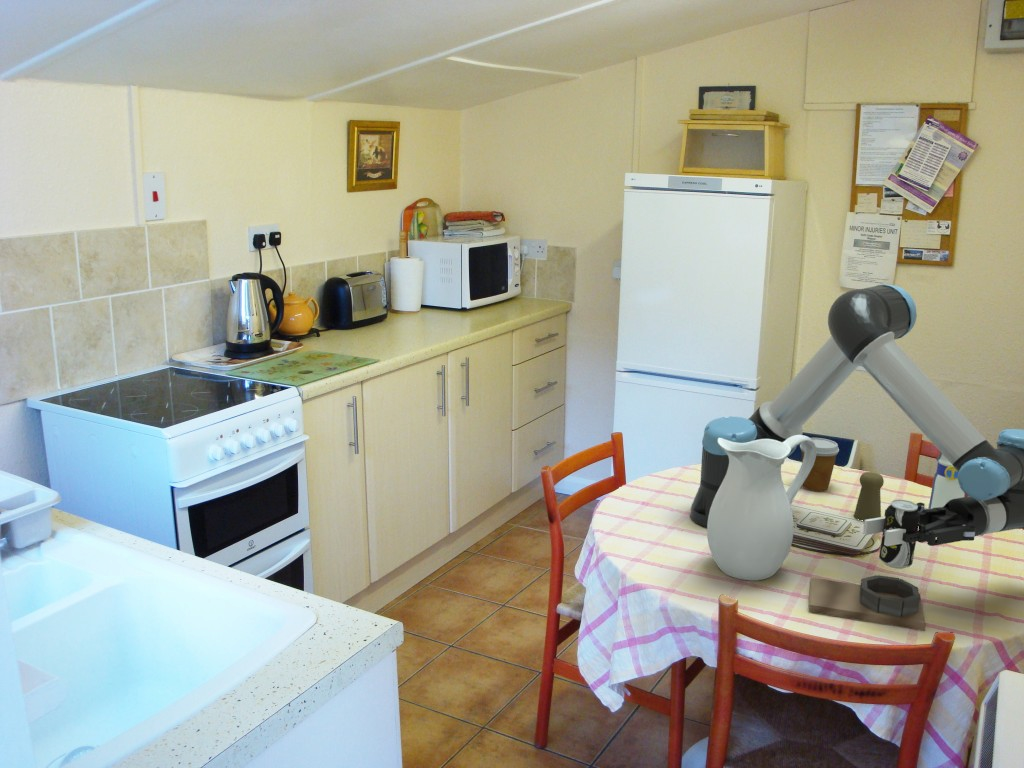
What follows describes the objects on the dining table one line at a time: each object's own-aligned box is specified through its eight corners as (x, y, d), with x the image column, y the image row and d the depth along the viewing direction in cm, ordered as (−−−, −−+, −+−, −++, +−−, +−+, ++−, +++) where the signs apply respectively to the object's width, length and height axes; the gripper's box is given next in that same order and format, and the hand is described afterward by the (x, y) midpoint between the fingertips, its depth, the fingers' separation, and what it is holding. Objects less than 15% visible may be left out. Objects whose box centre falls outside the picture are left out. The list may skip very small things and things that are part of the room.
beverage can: (909, 574, 166) (919, 513, 162) (876, 565, 168) (885, 506, 165) (913, 561, 170) (923, 502, 167) (881, 553, 173) (890, 495, 170)
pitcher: (737, 594, 177) (749, 457, 170) (688, 559, 192) (696, 432, 185) (833, 573, 187) (848, 443, 180) (779, 541, 202) (790, 420, 195)
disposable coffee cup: (834, 483, 238) (839, 439, 235) (834, 496, 229) (839, 450, 226) (796, 478, 241) (801, 435, 238) (795, 491, 232) (799, 446, 229)
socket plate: (808, 611, 171) (810, 589, 170) (810, 584, 182) (812, 563, 181) (924, 630, 165) (927, 607, 163) (919, 600, 176) (921, 579, 174)
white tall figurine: (968, 523, 213) (983, 420, 207) (928, 517, 216) (941, 416, 210) (964, 510, 221) (978, 411, 215) (925, 505, 224) (939, 407, 217)
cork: (876, 513, 218) (882, 469, 216) (884, 523, 213) (889, 478, 210) (850, 512, 219) (855, 468, 216) (857, 522, 213) (862, 477, 210)
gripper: (1009, 552, 167) (910, 572, 159) (934, 517, 183) (840, 533, 175) (1015, 514, 165) (914, 531, 157) (938, 482, 181) (843, 496, 173)
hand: (875, 532), depth 166 cm, fingers closed on beverage can, 5 cm apart
